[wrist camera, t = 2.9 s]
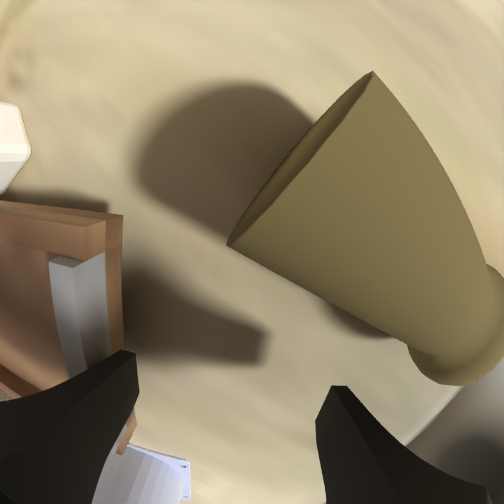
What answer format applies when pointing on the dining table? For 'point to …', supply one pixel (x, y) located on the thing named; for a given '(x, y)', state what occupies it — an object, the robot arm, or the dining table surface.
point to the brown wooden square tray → (58, 297)
